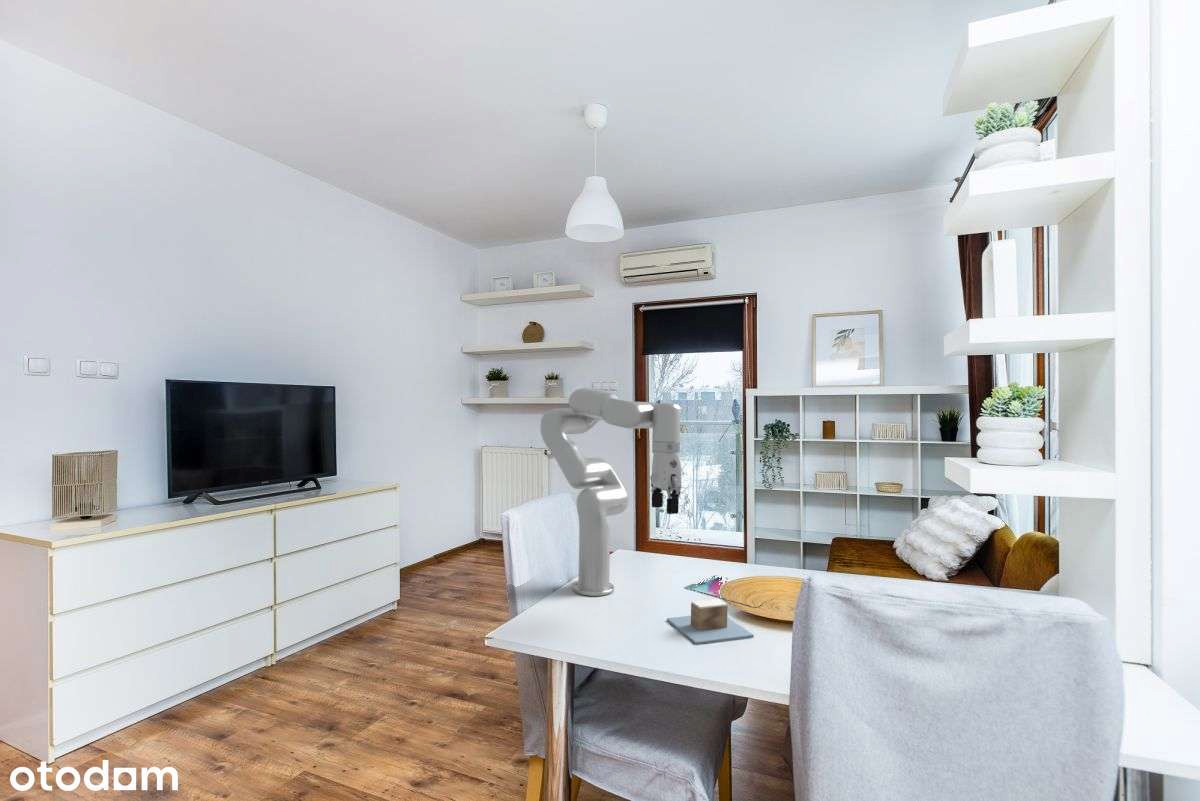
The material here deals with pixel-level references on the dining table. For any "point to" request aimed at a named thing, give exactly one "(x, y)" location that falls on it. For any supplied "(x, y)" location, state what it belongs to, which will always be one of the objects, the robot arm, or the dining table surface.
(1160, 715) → the dining table surface
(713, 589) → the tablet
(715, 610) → the block
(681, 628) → the mat
